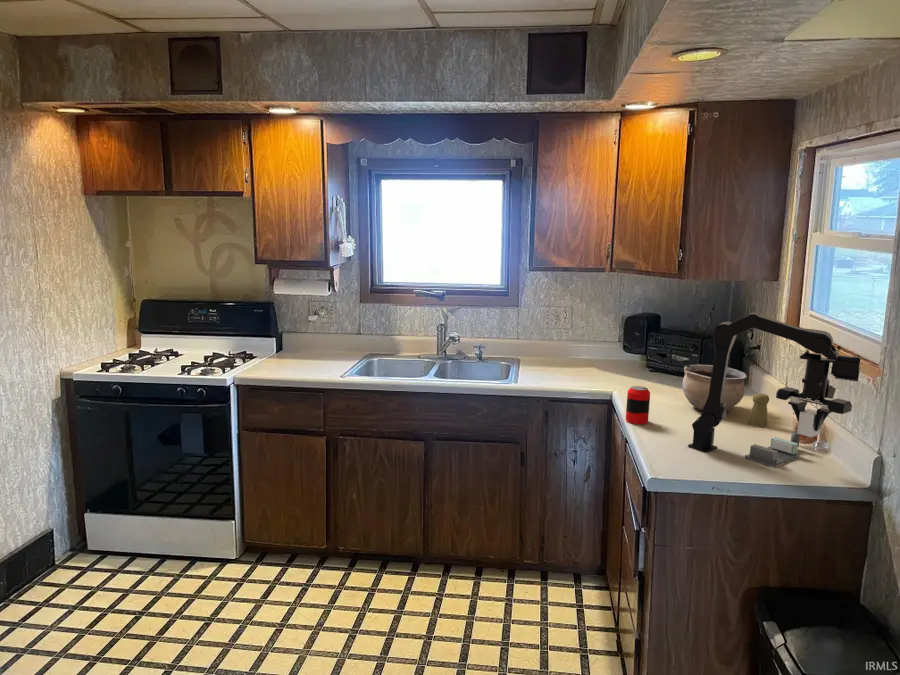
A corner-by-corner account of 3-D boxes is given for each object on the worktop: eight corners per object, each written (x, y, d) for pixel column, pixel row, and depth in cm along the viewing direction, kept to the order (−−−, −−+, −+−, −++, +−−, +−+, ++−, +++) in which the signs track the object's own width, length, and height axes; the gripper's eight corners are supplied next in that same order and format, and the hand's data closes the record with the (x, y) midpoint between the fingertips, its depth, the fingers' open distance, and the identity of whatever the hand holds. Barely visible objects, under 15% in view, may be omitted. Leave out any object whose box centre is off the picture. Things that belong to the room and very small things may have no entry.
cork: (751, 420, 241) (754, 390, 239) (769, 424, 237) (773, 393, 235) (746, 424, 237) (749, 394, 235) (764, 428, 233) (768, 397, 231)
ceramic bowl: (680, 398, 268) (683, 361, 265) (739, 404, 262) (743, 366, 259) (680, 414, 247) (684, 374, 244) (745, 421, 241) (750, 379, 238)
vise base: (774, 467, 197) (775, 454, 196) (744, 458, 204) (746, 445, 203) (799, 457, 206) (801, 444, 205) (770, 448, 213) (772, 436, 212)
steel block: (811, 437, 192) (814, 415, 191) (797, 433, 195) (800, 411, 194) (819, 434, 195) (822, 412, 194) (805, 430, 198) (808, 408, 197)
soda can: (647, 425, 233) (650, 391, 231) (625, 423, 235) (627, 389, 233) (648, 419, 240) (650, 386, 238) (626, 417, 242) (628, 384, 240)
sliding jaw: (792, 454, 205) (794, 441, 204) (769, 447, 210) (771, 435, 209) (807, 448, 210) (809, 435, 209) (785, 442, 216) (786, 429, 215)
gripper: (864, 379, 189) (856, 433, 192) (797, 365, 204) (790, 415, 207) (846, 384, 183) (838, 440, 186) (778, 370, 198) (771, 421, 200)
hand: (809, 428), depth 195 cm, fingers closed on steel block, 4 cm apart
